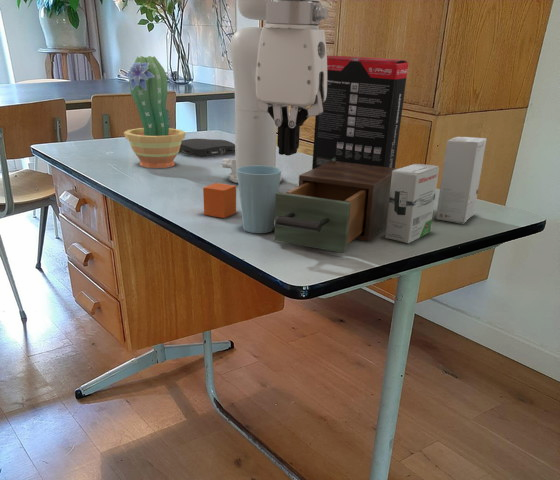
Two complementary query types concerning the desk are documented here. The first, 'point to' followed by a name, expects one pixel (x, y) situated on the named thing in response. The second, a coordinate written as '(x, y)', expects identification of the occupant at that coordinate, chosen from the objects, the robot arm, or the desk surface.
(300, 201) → the two-tone handled box
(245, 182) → the cup
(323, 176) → the cabinet
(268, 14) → the robot arm
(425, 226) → the ink box
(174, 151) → the potted cactus
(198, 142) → the media streaming box
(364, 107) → the graphics card box
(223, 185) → the plain orange cube
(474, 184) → the cosmetic box
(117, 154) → the desk surface
